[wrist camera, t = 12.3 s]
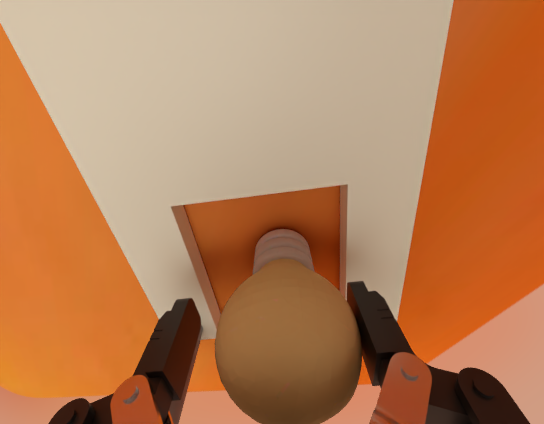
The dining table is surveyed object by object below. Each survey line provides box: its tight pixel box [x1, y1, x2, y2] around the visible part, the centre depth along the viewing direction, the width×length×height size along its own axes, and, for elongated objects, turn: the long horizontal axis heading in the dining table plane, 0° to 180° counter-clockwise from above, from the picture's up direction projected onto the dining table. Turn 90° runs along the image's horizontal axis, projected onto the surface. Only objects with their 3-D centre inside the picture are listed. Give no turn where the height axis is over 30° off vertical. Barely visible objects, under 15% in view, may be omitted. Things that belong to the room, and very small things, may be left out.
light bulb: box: [215, 229, 362, 424], centre depth 13 cm, size 6×6×10 cm
